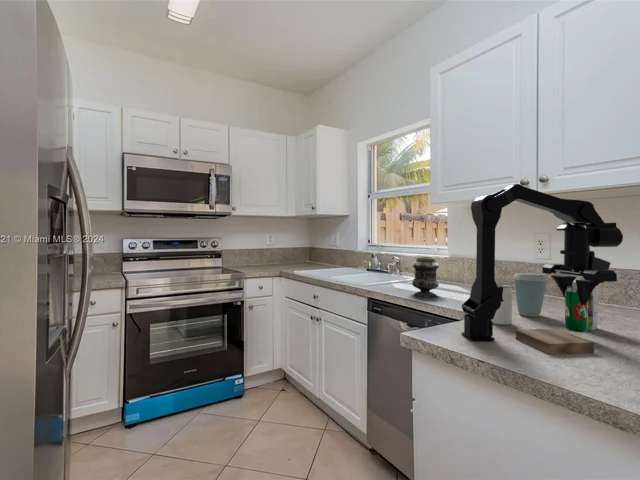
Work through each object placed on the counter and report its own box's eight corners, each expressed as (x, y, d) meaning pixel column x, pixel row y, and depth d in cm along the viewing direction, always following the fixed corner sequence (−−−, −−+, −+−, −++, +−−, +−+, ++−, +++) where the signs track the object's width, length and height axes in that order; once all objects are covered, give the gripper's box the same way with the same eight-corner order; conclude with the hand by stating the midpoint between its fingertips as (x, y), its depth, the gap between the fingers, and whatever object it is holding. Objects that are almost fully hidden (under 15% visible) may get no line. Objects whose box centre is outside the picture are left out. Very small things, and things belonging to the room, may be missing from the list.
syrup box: (569, 327, 106) (569, 280, 106) (576, 324, 109) (576, 279, 109) (591, 331, 101) (592, 282, 101) (598, 328, 105) (599, 281, 104)
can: (484, 321, 113) (485, 285, 113) (498, 319, 116) (499, 284, 115) (502, 326, 107) (502, 288, 107) (516, 324, 110) (516, 287, 109)
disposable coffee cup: (505, 312, 125) (506, 271, 125) (527, 310, 129) (527, 270, 128) (532, 319, 115) (532, 275, 115) (554, 316, 119) (555, 273, 118)
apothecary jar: (435, 298, 151) (436, 258, 151) (408, 296, 157) (409, 257, 157) (441, 294, 162) (441, 256, 161) (415, 292, 168) (415, 255, 167)
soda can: (565, 326, 99) (565, 285, 99) (587, 329, 95) (587, 287, 95) (564, 330, 95) (564, 287, 95) (587, 333, 92) (587, 289, 91)
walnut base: (548, 354, 83) (548, 343, 83) (515, 338, 95) (515, 329, 95) (593, 352, 84) (594, 342, 84) (555, 337, 96) (555, 328, 96)
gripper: (637, 248, 86) (636, 309, 87) (575, 245, 105) (574, 296, 105) (596, 248, 85) (595, 310, 86) (541, 245, 104) (540, 296, 104)
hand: (575, 302), depth 95 cm, fingers closed on soda can, 5 cm apart
